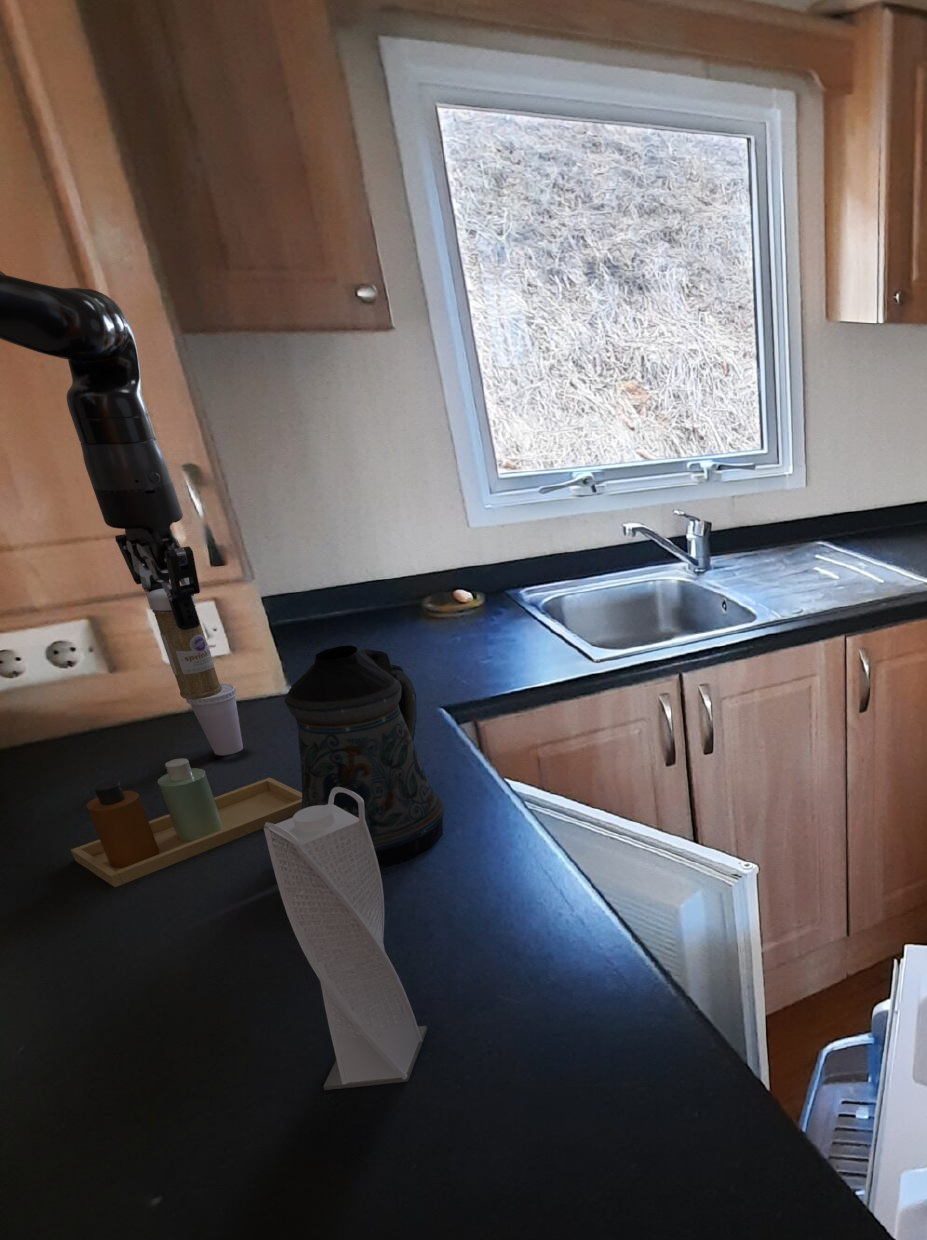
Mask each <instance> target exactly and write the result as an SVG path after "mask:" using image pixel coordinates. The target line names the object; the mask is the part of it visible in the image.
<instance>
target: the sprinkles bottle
mask: <svg viewBox="0 0 927 1240" xmlns="http://www.w3.org/2000/svg"><path fill="white" fill-rule="evenodd" d="M191 597H192V600H193V603H194V606H195V609H196V612H197V611H198V610H197V608H196V606H197V605H196V599H195V595H194V596H191ZM146 598H147V602H148V605H149V608H150V609H151V612H152V613H153V615H154V617H155V620H156V623H157V627H158V630H159V634H160V638H161V642H162V643H163V647H164V650H165V653H166V656H167V658H168V661H169V664H170V667H171V670H172V673H173V675H174V678H175V680H176V683H177V686H178V689H179V695H180V697H181V698H183V699H185V700H186V699H201V698H207V697H210V696H213V695H216V694H218V693H220V692H221V690H222V686H221V685H220V684H221V683H220V680H219V677H218V675H217V671H216V667H215V663H214V659H213V657H212V656H213V655H212V653H211V650H210V646H209V644H208V641H207V639H206V635H205V632H204V630H203V627H202V624H201V621H200V618H199V615H198V612H197V616H198V619H199V622H200V625H199V626H198V627H195V628H191V629H187V630H182V629H180V628H178V627H177V624H176V621H175V618H174V615H173V612H172V609H171V606H170V603H169V600H170V599H169V598H168V597H167V594H166V592H165V590H164V588H162V589H157V590H154V591H151V592H147V594H146Z"/></svg>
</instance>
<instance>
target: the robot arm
mask: <svg viewBox="0 0 927 1240" xmlns="http://www.w3.org/2000/svg"><path fill="white" fill-rule="evenodd" d="M0 340H2V341H4V342H8V343H10V344H13V345H16V346H18V347H21V348H24V349H28V350H31V351H33V352H37V353H40V354H44V355H47V356H51V357H54V358H58V359H63V360H67V361H68V362H67V363H68V366H69V371H70V374H71V386H70V387H69V389H68V390H67V392H66V404H67V408H68V411H69V415H70V417H71V421H72V424H73V426H74V429H75V432H76V434H77V437H78V440H79V443H80V444H79V445H80V447H81V451H82V457H83V458H82V459H83V462H84V466H85V469H86V472H87V475H88V478H89V480H90V481H89V482H90V484H91V486H92V489H93V492H94V495H95V498H96V500H97V504H98V506H99V509H100V512H101V515H102V518H103V521H104V523H105V525H106V526H108V527H110V528H113V529H121V530H124V533H123V534H118V535H115V536H114V539H115V540H114V541H115V542H116V544H117V546H118V548H119V551H120V553H121V555H122V557H123V559H124V561H125V565H126V566H127V568H128V570H129V572H130V574H131V577H132V579H133V582H134V583H135V584H136V585H141V588H142V589H143V591H144V592H145V593H149V592H151V591H154V590H157V589H162V588H164V590H165V592H166V594H167V597H168V598H169V599H170V600H169V603H170V606H171V609H172V612H173V615H174V618H175V621H176V624H177V627H178V628H180V629H182V630H187V629H191V628H195V627H198V626H199V625H200V624H201V621H200V622H199V620H200V618H199V619H198V617H199V615H198V616H197V614H198V612H196V611H197V608H196V607H195V606H194V603H193V600H192V597H191V596H194V597H195V595H198V594H200V593H201V589H200V583H199V577H198V572H197V567H196V562H195V561H196V560H195V556H194V551H193V549H192V548H191V547H190V546H189V545H188V546H184V547H183V546H182V547H181V545H180V542H179V540H178V539H177V537H175V535H174V533H173V530H172V529H171V526H172V524H174V523H178V522H180V521H181V520H182V519H183V516H184V513H183V510H182V508H181V503H180V500H179V498H178V495H177V490H176V488H175V485H174V481H173V479H172V476H171V473H170V472H171V471H170V469H169V466H168V463H167V460H166V457H165V455H164V452H163V451H162V448H161V446H160V444H159V442H158V439H157V437H156V434H155V430H154V426H153V424H152V423H153V422H152V421H151V417H150V414H149V411H148V408H147V404H146V402H145V400H144V397H143V389H142V375H141V368H140V360H139V352H138V347H137V342H136V338H135V334H134V331H133V328H132V326H131V323H130V321H129V319H128V317H127V316H126V314H125V312H124V311H123V309H122V308H121V307H120V306H119V305H118V304H117V303H116V302H115V301H114V300H113V299H112V298H110V297H109V296H108V295H106V294H105V293H103V292H101V291H98V290H96V289H92V288H87V287H59V286H54V285H53V286H52V285H48V284H42V283H39V282H35V281H31V280H27V279H23V278H19V277H14V276H11V275H7V274H6V273H4V272H3V271H2V270H0ZM195 608H196V609H195Z"/></svg>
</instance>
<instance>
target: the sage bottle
mask: <svg viewBox="0 0 927 1240" xmlns="http://www.w3.org/2000/svg"><path fill="white" fill-rule="evenodd" d="M164 767H165V769H166V774H164V775H162V776H160V777H159V778H158V780H157V786H158V788H159V791H160V794H161V796H162V799H163V802H164V804H165V808H166V810H167V813H168V814H169V816H170V818H171V821H172V824H173V827H174V829H175V832H176V835H177V838H178V839H179V840H180V841H184V842H192V841H195V840H197V839H200V838H202V837H205V836H207V835H210V834H213V833H215V832H218V831H220V830H223V828H224V826H223V823H222V820H221V817H220V814H219V811H218V808H217V805H216V802H215V799H214V798H215V796H214V794H213V790H212V788H211V784H210V782H209V779H208V776H207V773H206V770H204V769H202V768H197V767H191V765H190V762H189V760H188V758H185V757H184V758H183V757H181V758H175V759H171V760H169V761H167V762H165V764H164Z"/></svg>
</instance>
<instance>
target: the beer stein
mask: <svg viewBox="0 0 927 1240" xmlns="http://www.w3.org/2000/svg"><path fill="white" fill-rule="evenodd" d="M284 703H285V705H286V706H287V708H288V710H289V712H290V714H291V715H292V716H293V717H294V718H295V720H296V726H297V735H298V749H299V758H300V759H299V760H300V775H301V793H302V809H304V808H307V807H311V806H318V805H327V804H328V800H329V796H330V793H331V790H332V789H333V788H335V787H342V788H345V789H348V790H350V791H353V792H355V793H356V794H358V795H359V796H360V797H361V798H362V799H363V800H364V812H365V821H366V824H367V827H368V830H369V833H370V836H371V839H372V843H373V846H374V850H375V853H376V856H377V861H378V865H379V869H382V868H386V867H390V866H393V865H396V864H400V863H404V862H407V861H409V860H411V859H413V858H415V857H416V856H418V855H420V854H422V853H424V852H426V851H428V850H430V849H432V847H434V845H435V844H436V843H437V842H438V840H439V839H440V838H441V837H442V836H443V834H444V815H445V814H444V813H445V807H444V806H445V805H444V802H443V800H442V799H441V798H440V797H439V795H438V794H437V793H436V791H435V790H434V789H433V787H432V785H431V784H430V781H429V779H428V777H427V775H426V772H425V770H424V766H423V764H422V762H421V758H420V756H419V754H418V750H417V748H416V745H415V742H414V740H415V734H416V727H417V726H416V725H417V708H418V707H417V694H416V690H415V688H414V685H413V682H412V681H411V679H410V677H409V676H408V675H407V674H406V673H405V671H404V669H403V667H402V666H399V665H397V664H391V661H390V657H389V655H388V653H387V652H384V651H380V650H376V649H369V648H363V649H360V650H359V649H358V648H357V646H354V645H338V646H335V647H332V648H327V649H324V650H322V651H320V652H318V653H316V654H315V658H314V663H313V664H312V665H311V666H310V667H309V668H308V669H307V670H306V671H305V673H304V674H302V675H301V676H300V677H299V678H298V680H296V682H294V684H292V686H290V688H289V689H288V692H287V693H286V695H285V697H284ZM333 804H334V805H335V806H337V807H339V808H341V809H343V810H345V811H346V812H348V813H350V814H352V815H354V816H356V817H357V818H359V809H358V802H357V801H356V800H355V799H354V798H353V797H352V796H350V795H348V794H346V793H342V792H338V793H336V794H335V796H334V803H333ZM302 809H301V810H302Z"/></svg>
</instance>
